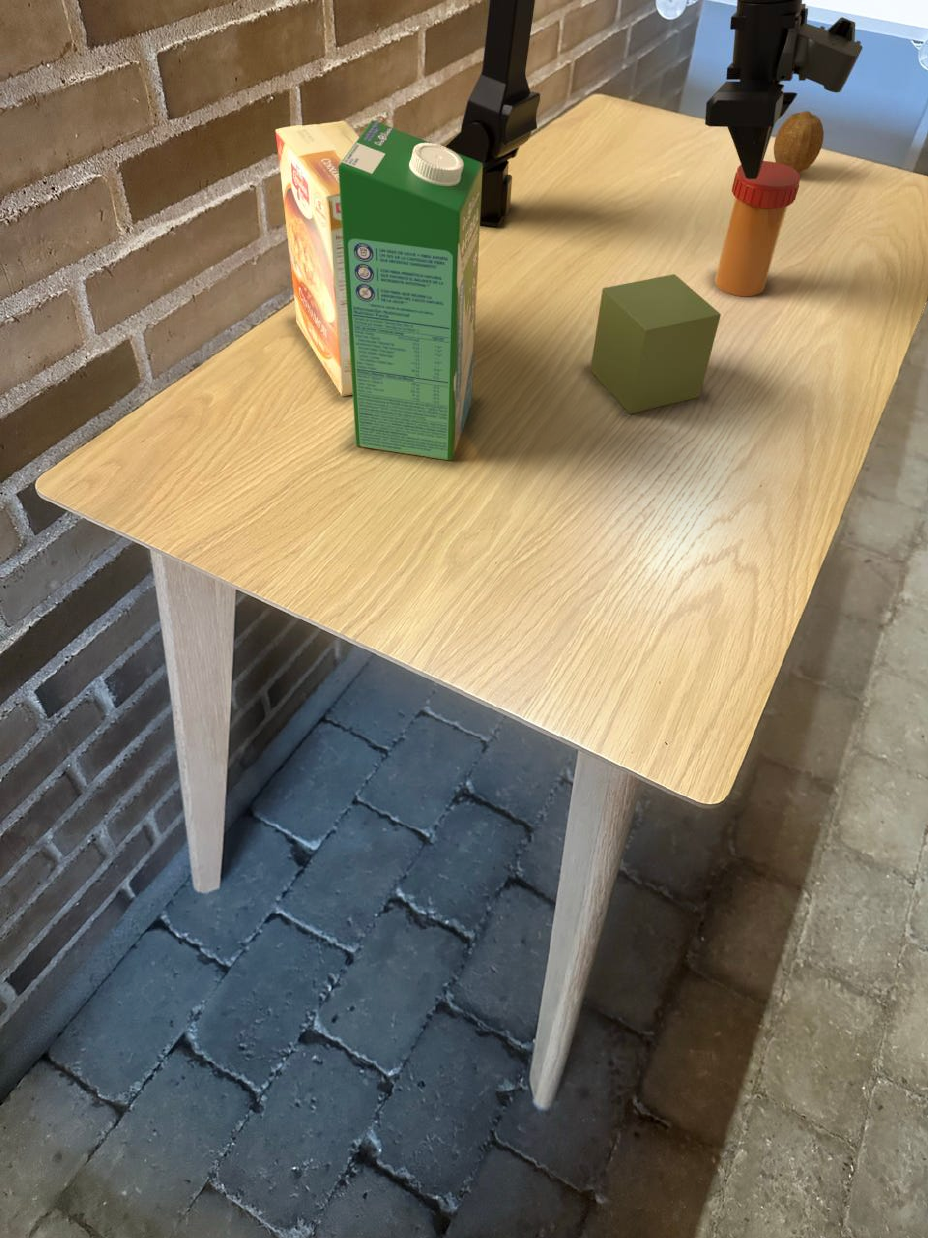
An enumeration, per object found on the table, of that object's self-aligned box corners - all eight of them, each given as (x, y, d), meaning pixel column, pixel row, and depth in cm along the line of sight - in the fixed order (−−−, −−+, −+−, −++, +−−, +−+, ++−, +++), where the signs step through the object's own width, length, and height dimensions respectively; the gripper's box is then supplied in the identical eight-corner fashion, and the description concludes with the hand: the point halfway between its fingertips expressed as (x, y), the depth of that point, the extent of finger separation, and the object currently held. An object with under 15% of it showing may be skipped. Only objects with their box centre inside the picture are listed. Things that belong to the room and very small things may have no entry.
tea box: (589, 370, 95) (602, 287, 88) (657, 355, 97) (674, 273, 91) (629, 414, 90) (646, 330, 83) (699, 397, 92) (721, 314, 86)
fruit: (812, 167, 131) (831, 105, 125) (812, 185, 127) (831, 122, 121) (767, 161, 132) (783, 99, 126) (766, 179, 128) (782, 116, 122)
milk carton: (452, 461, 84) (461, 178, 66) (355, 446, 85) (337, 163, 67) (471, 404, 90) (484, 130, 72) (380, 391, 91) (370, 117, 73)
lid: (729, 203, 99) (734, 181, 97) (733, 178, 103) (738, 156, 102) (794, 212, 98) (800, 190, 96) (795, 186, 102) (801, 165, 101)
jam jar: (713, 291, 107) (739, 184, 98) (716, 269, 110) (742, 164, 101) (762, 299, 106) (793, 192, 97) (764, 276, 110) (794, 171, 101)
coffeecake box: (294, 322, 99) (272, 126, 85) (357, 310, 101) (347, 117, 87) (339, 398, 90) (324, 194, 76) (408, 383, 92) (406, 182, 78)
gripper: (846, 18, 76) (817, 214, 87) (878, -27, 88) (849, 150, 99) (710, 21, 80) (698, 208, 91) (757, -23, 92) (742, 147, 103)
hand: (752, 177), depth 96 cm, fingers closed
